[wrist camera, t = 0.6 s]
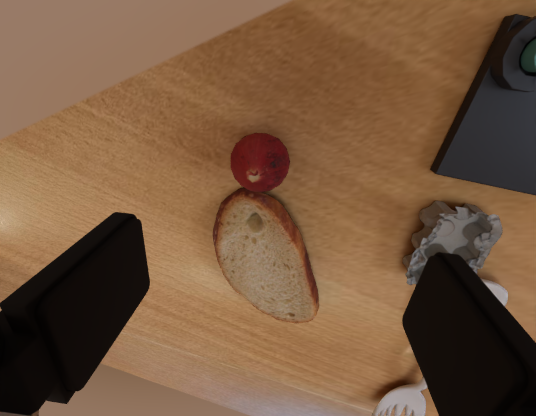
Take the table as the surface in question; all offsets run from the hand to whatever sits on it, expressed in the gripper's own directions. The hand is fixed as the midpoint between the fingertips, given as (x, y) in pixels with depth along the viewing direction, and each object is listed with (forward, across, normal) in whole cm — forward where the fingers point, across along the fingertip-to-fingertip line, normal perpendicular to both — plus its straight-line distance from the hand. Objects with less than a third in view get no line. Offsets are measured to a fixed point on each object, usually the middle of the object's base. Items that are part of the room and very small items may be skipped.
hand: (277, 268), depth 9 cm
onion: (+23, +3, +3) cm, 23 cm away
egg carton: (+23, -20, +11) cm, 32 cm away
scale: (+23, -22, -4) cm, 32 cm away
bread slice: (+23, 0, +17) cm, 29 cm away
